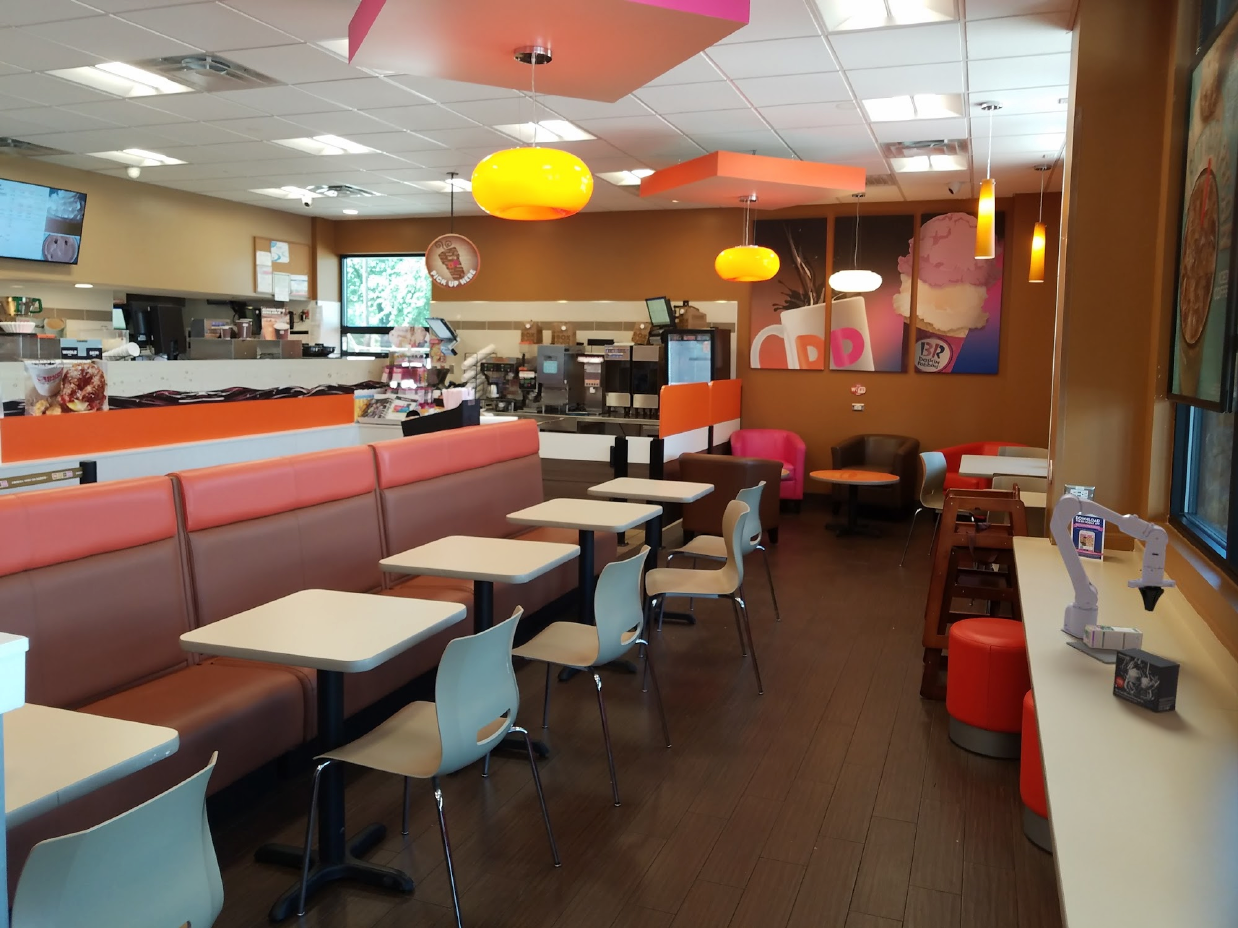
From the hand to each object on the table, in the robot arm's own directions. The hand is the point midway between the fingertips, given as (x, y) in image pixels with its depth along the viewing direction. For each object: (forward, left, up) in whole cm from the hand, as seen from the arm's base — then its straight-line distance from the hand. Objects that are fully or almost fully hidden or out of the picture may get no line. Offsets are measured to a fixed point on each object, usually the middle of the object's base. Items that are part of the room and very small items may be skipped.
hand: (1148, 610), depth 286 cm
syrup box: (+6, -7, -7) cm, 12 cm away
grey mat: (+7, -17, -10) cm, 21 cm away
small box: (+44, -35, -11) cm, 57 cm away
